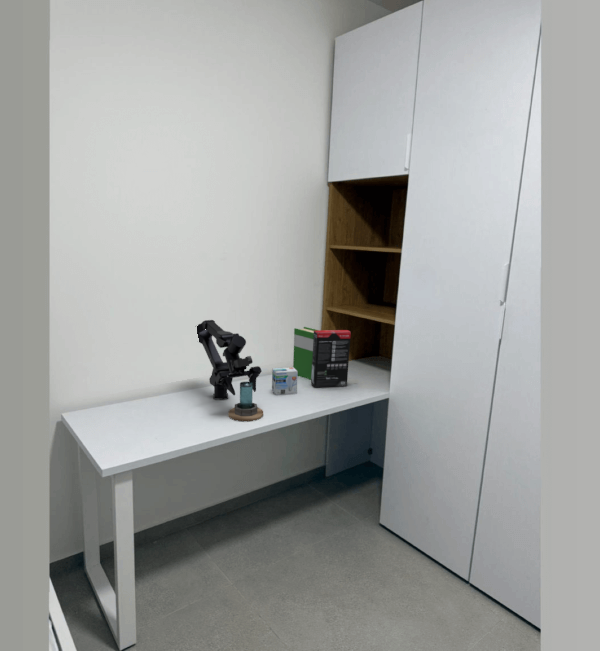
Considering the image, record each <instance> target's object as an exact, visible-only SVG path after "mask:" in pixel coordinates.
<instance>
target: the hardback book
mask: <svg viewBox="0 0 600 651" xmlns="http://www.w3.org/2000/svg"><path fill="white" fill-rule="evenodd" d="M293 330H294V331H293V334H294V336H293V363H292V364H293V366H292V367H294V368H295V369H296V370H297V371H298V376H299V377H301V378H304V379H306V380H309V381H311V374H312V357H313V338H314V330H317V329H315V328H313V327H307V326H304V327H303V328H294V329H293ZM298 376H297V377H298Z"/></svg>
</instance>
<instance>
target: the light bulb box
mask: <svg viewBox="0 0 600 651" xmlns="http://www.w3.org/2000/svg"><path fill="white" fill-rule="evenodd" d="M271 372H272V376H271V379H272V380H271V391H272V392H273V394H274V395H275V396H278V395H279V396H280V395H293V394H294V395H295V394H297V393H298V371H297V370H296V369H295V368H294V367H293V366H292V367H278V368H276V367H275V368H272V371H271Z"/></svg>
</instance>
